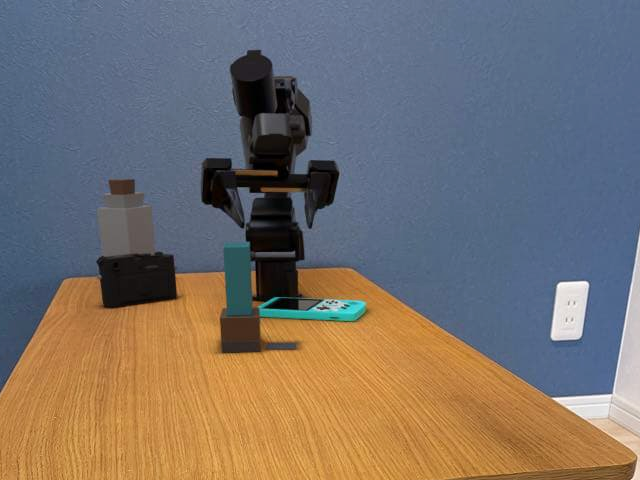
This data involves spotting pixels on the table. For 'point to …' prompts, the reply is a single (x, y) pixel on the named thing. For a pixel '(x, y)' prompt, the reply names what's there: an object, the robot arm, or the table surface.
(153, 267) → the camera
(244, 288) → the teal post in base
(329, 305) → the handheld game console
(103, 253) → the perfume bottle
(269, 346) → the dark grey flat tile
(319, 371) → the table surface
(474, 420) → the table surface
